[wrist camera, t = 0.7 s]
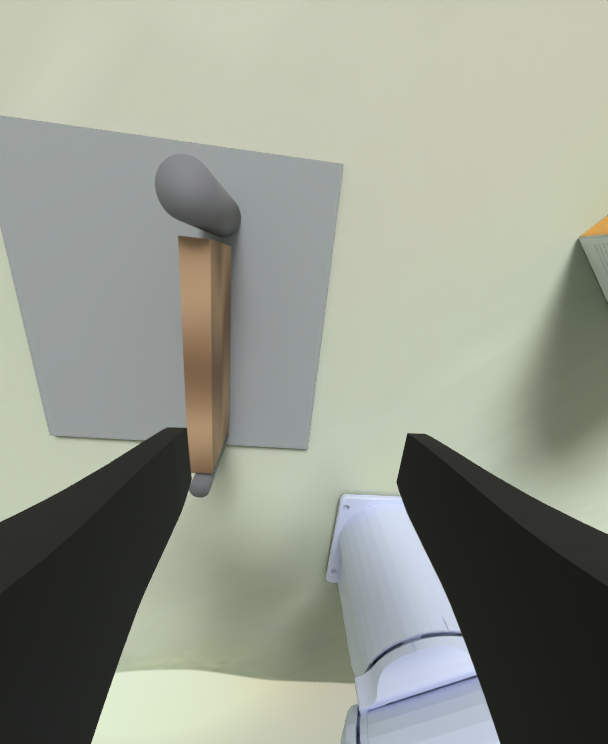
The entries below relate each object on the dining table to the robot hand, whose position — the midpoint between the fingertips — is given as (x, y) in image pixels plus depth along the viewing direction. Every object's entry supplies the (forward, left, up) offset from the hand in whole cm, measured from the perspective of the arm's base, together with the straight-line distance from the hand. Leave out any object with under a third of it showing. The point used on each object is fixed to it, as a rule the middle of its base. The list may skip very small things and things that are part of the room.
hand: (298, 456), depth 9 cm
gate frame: (+2, +7, -10) cm, 12 cm away
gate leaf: (+1, +4, -9) cm, 10 cm away
